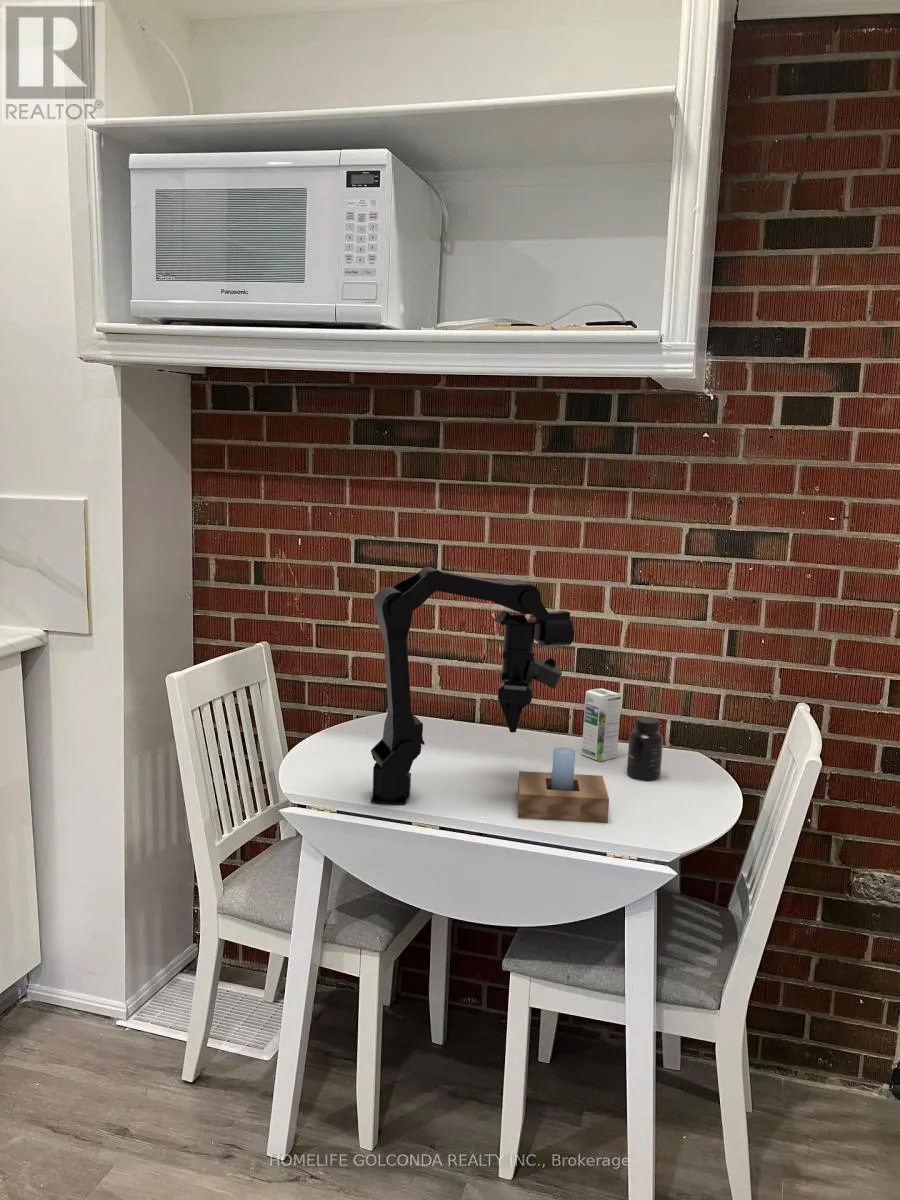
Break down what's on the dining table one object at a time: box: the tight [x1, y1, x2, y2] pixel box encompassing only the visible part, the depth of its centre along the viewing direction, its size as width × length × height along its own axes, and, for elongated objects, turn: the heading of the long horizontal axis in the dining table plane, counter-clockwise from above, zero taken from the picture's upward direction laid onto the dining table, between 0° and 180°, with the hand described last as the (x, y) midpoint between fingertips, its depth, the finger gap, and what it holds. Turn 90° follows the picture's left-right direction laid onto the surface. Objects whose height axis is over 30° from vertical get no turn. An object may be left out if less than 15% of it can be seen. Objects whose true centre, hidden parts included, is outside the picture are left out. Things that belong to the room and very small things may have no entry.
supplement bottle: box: [626, 716, 664, 782], centre depth 194 cm, size 7×7×12 cm
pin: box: [551, 747, 576, 791], centre depth 176 cm, size 4×4×10 cm
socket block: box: [517, 770, 610, 824], centre depth 176 cm, size 16×12×4 cm
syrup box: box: [581, 688, 622, 763], centre depth 205 cm, size 6×6×14 cm
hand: (513, 725), depth 184 cm, fingers open, 9 cm apart
